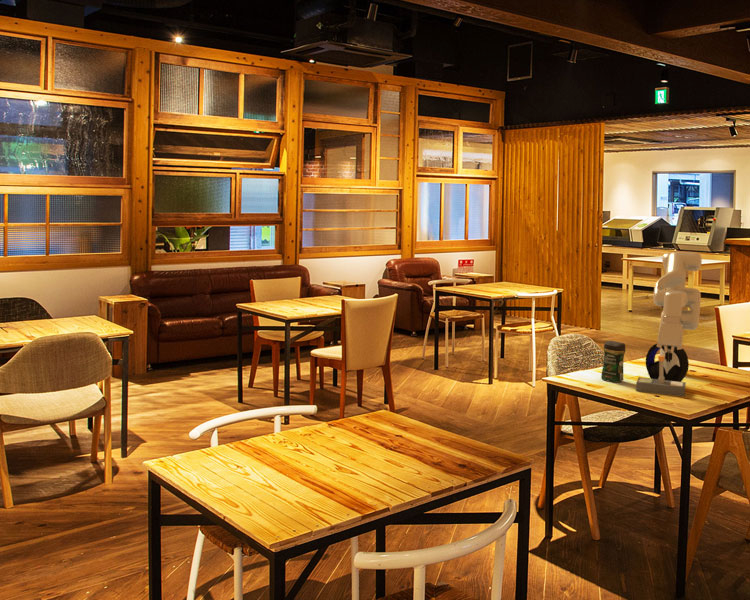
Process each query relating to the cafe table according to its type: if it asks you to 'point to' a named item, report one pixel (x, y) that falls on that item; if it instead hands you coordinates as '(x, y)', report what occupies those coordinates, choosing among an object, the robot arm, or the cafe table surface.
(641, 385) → the switch box
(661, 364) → the lever
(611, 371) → the coffee jar
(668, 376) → the headphones
